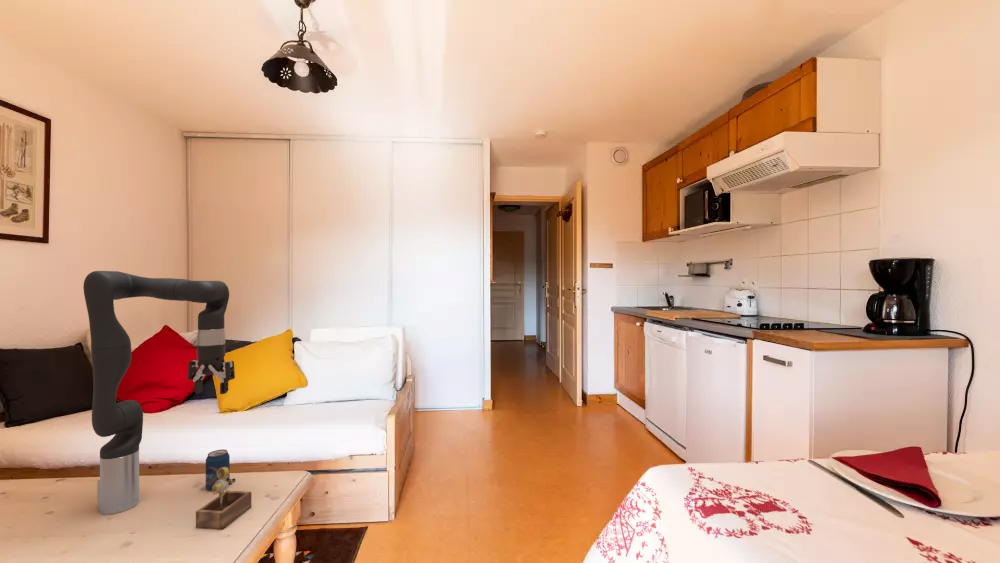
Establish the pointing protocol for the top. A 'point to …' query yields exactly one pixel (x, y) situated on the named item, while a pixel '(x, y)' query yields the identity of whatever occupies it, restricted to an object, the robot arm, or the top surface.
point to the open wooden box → (223, 510)
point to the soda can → (216, 466)
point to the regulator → (222, 483)
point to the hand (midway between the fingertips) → (211, 393)
